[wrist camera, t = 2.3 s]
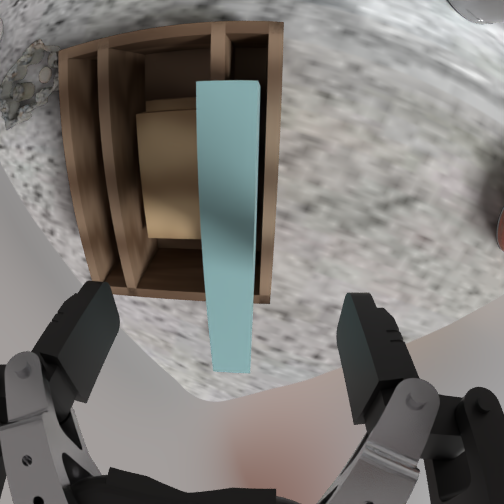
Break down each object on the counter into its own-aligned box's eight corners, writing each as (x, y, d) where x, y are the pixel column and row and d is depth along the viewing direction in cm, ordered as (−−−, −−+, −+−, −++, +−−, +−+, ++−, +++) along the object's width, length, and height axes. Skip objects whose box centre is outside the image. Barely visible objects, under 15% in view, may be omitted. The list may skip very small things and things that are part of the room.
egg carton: (59, 36, 23) (40, 34, 20) (76, 84, 27) (57, 86, 23) (6, 83, 25) (-14, 87, 22) (22, 128, 29) (2, 135, 25)
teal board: (239, 86, 26) (196, 81, 9) (260, 86, 26) (257, 80, 9) (238, 218, 33) (213, 371, 16) (256, 218, 33) (249, 373, 16)
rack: (108, 54, 25) (58, 50, 17) (277, 41, 25) (283, 22, 16) (127, 247, 37) (96, 292, 29) (268, 252, 37) (269, 303, 29)
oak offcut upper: (146, 111, 25) (135, 114, 23) (209, 107, 25) (204, 109, 23) (156, 226, 31) (148, 237, 29) (212, 227, 31) (208, 239, 29)
